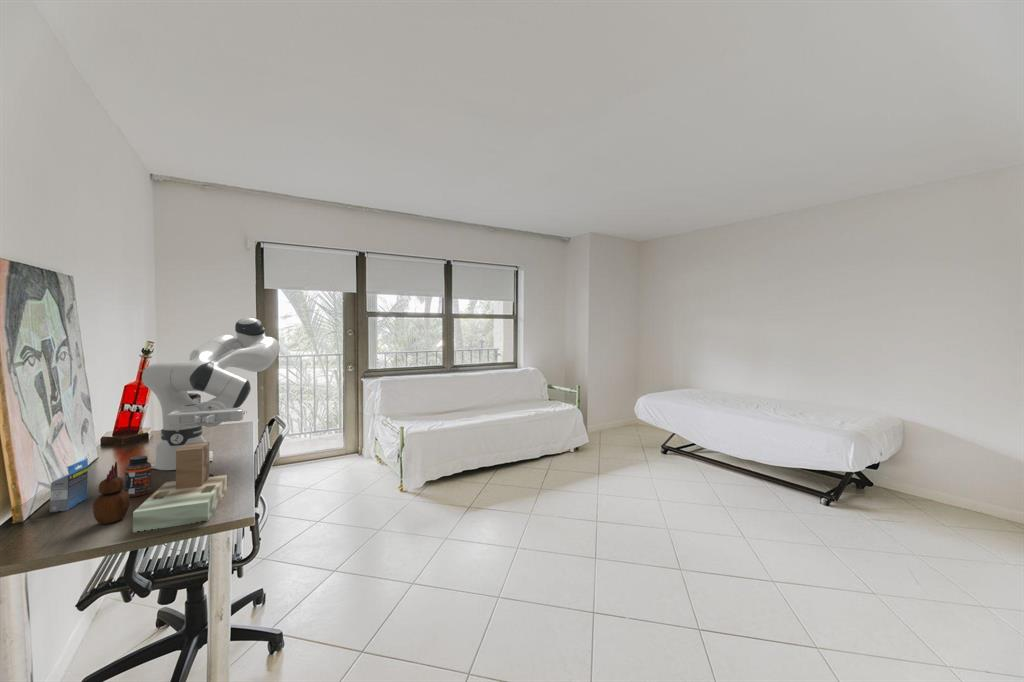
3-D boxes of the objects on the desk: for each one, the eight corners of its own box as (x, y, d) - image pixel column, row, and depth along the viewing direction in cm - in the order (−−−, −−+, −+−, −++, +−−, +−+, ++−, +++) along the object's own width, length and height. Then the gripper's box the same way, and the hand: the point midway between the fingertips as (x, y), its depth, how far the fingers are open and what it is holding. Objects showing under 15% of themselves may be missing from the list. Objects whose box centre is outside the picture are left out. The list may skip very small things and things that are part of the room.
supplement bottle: (134, 498, 119) (134, 460, 119) (119, 497, 120) (119, 459, 120) (156, 491, 124) (156, 455, 124) (141, 489, 126) (141, 453, 126)
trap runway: (166, 498, 119) (166, 481, 119) (226, 490, 125) (227, 474, 125) (132, 532, 98) (132, 512, 98) (207, 521, 104) (207, 502, 104)
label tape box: (70, 500, 117) (70, 459, 117) (88, 498, 118) (88, 457, 118) (48, 513, 109) (49, 468, 108) (68, 510, 110) (69, 466, 110)
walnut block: (184, 480, 120) (184, 443, 120) (209, 477, 123) (209, 441, 123) (175, 489, 113) (176, 450, 113) (201, 486, 116) (202, 448, 116)
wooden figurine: (114, 515, 107) (114, 459, 107) (134, 515, 107) (135, 460, 107) (86, 527, 101) (86, 467, 101) (108, 527, 100) (108, 468, 100)
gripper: (247, 420, 142) (240, 427, 130) (175, 424, 133) (160, 433, 121) (247, 402, 142) (240, 408, 130) (175, 406, 133) (160, 413, 121)
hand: (201, 420), depth 125 cm, fingers closed
